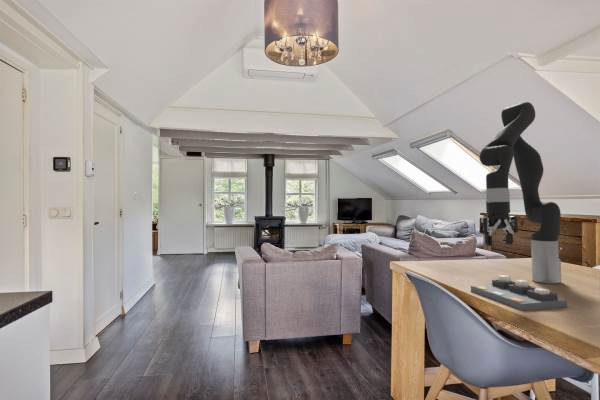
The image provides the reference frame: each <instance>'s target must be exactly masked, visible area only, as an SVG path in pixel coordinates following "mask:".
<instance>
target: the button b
mask: <svg viewBox="0 0 600 400" xmlns="http://www.w3.org/2000/svg"><path fill="white" fill-rule="evenodd" d="M514 282H515V286H516V287H519V288H529V286H530V283H529V281H528V280H526V279H515V281H514Z"/></svg>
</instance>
